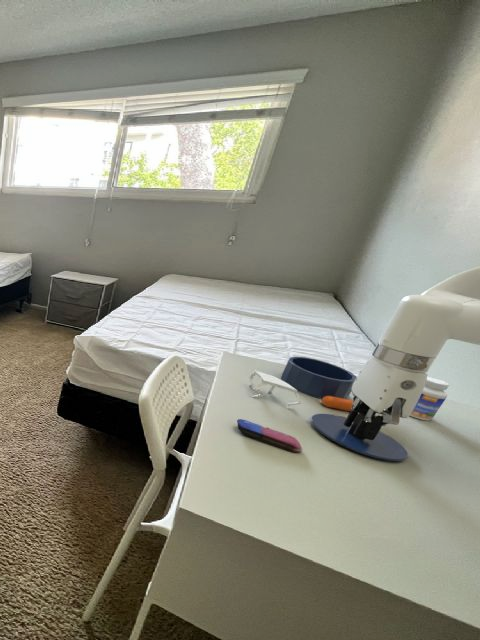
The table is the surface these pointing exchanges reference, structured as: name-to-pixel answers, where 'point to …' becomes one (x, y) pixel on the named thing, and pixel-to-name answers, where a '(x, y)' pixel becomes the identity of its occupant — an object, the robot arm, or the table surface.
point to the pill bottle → (430, 399)
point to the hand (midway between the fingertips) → (358, 431)
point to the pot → (318, 378)
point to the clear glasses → (273, 385)
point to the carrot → (337, 403)
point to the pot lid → (344, 436)
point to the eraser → (269, 436)
